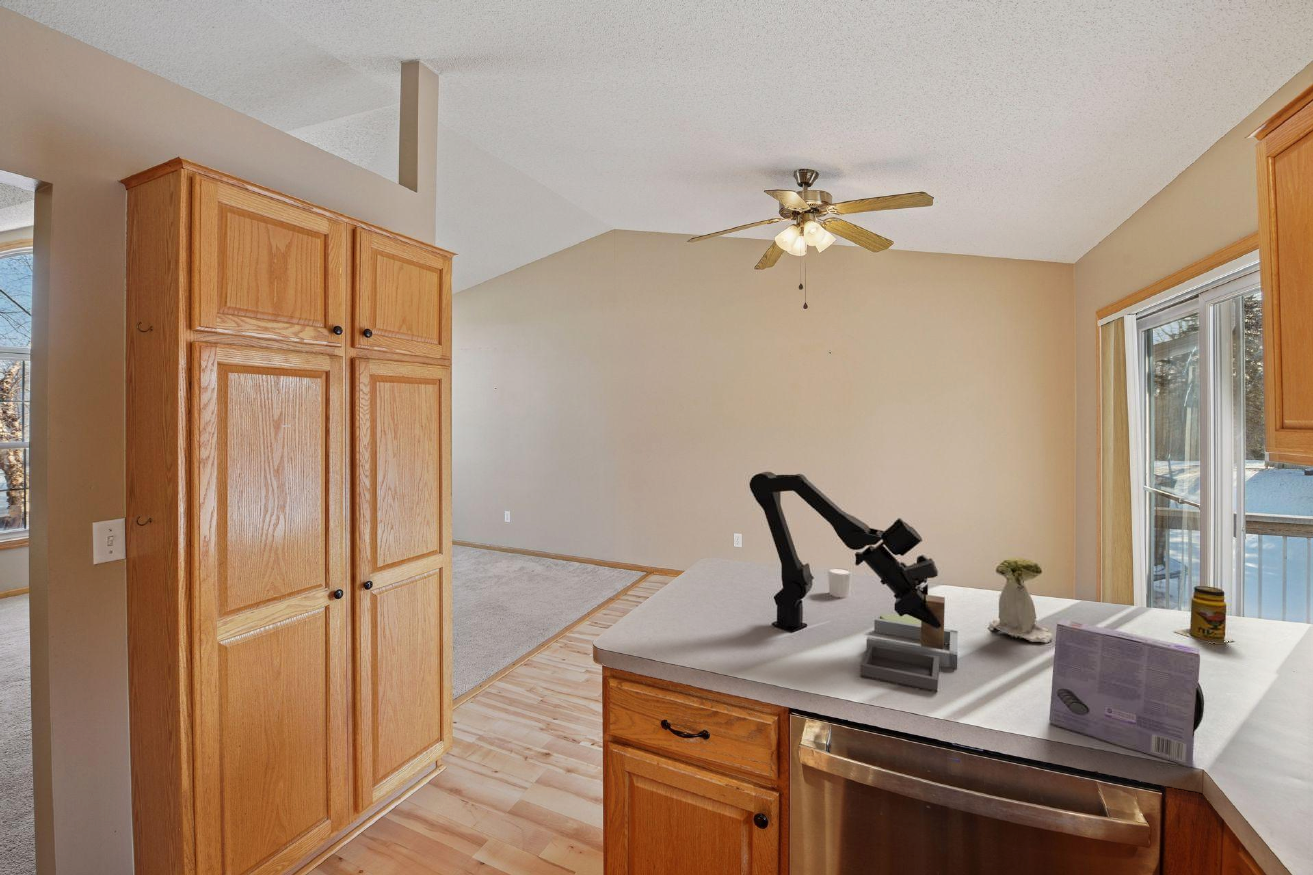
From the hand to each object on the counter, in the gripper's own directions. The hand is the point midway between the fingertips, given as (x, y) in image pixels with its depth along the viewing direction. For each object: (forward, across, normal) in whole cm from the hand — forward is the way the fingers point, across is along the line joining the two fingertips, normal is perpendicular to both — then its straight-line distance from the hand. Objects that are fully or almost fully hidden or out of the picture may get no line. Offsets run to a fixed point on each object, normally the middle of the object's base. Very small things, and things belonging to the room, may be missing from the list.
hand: (939, 623), depth 129 cm
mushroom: (+17, +22, -7) cm, 28 cm away
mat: (0, +16, +10) cm, 18 cm away
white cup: (-14, +32, +24) cm, 43 cm away
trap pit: (0, -15, +9) cm, 18 cm away
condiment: (+44, +40, -35) cm, 69 cm away
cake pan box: (+24, -25, -15) cm, 38 cm away
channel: (+1, 0, +8) cm, 9 cm away
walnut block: (+4, 0, +6) cm, 7 cm away
